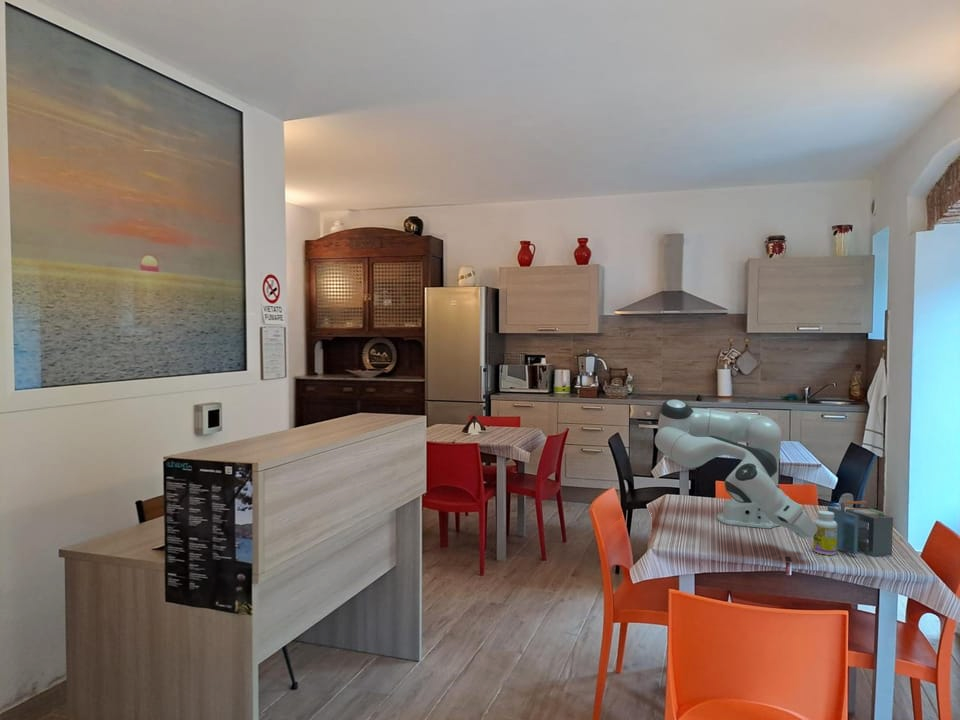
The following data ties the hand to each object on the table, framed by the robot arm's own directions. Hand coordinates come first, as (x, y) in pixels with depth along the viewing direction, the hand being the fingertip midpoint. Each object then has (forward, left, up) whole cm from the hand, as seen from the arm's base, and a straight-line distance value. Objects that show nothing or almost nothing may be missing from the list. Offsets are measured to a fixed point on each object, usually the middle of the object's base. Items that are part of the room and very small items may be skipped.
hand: (803, 536), depth 212 cm
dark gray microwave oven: (+22, +8, -6) cm, 24 cm away
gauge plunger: (+17, +6, -5) cm, 19 cm away
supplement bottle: (+7, +3, -6) cm, 10 cm away
